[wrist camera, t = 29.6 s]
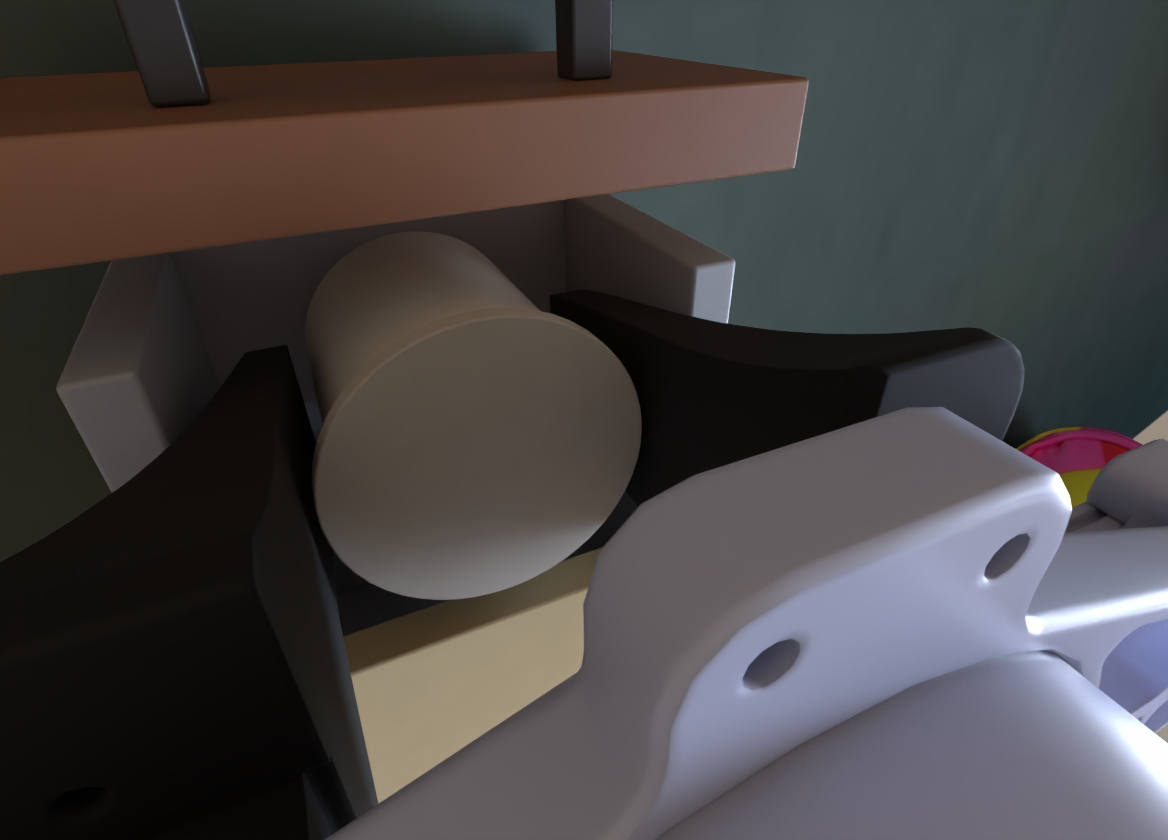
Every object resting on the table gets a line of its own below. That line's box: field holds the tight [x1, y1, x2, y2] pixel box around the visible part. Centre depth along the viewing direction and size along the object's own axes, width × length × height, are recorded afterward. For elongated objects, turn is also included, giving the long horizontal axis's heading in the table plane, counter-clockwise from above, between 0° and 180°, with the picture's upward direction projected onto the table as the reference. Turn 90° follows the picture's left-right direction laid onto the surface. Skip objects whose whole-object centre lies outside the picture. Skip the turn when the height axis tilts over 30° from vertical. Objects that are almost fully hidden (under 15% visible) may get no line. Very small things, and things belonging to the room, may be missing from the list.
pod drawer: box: [0, 0, 809, 636], centre depth 11 cm, size 17×10×6 cm, turn 179°
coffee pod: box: [305, 231, 642, 600], centre depth 11 cm, size 5×5×5 cm
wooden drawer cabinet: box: [343, 547, 603, 803], centre depth 17 cm, size 14×12×8 cm
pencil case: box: [1016, 427, 1142, 508], centre depth 35 cm, size 22×9×9 cm, turn 41°
